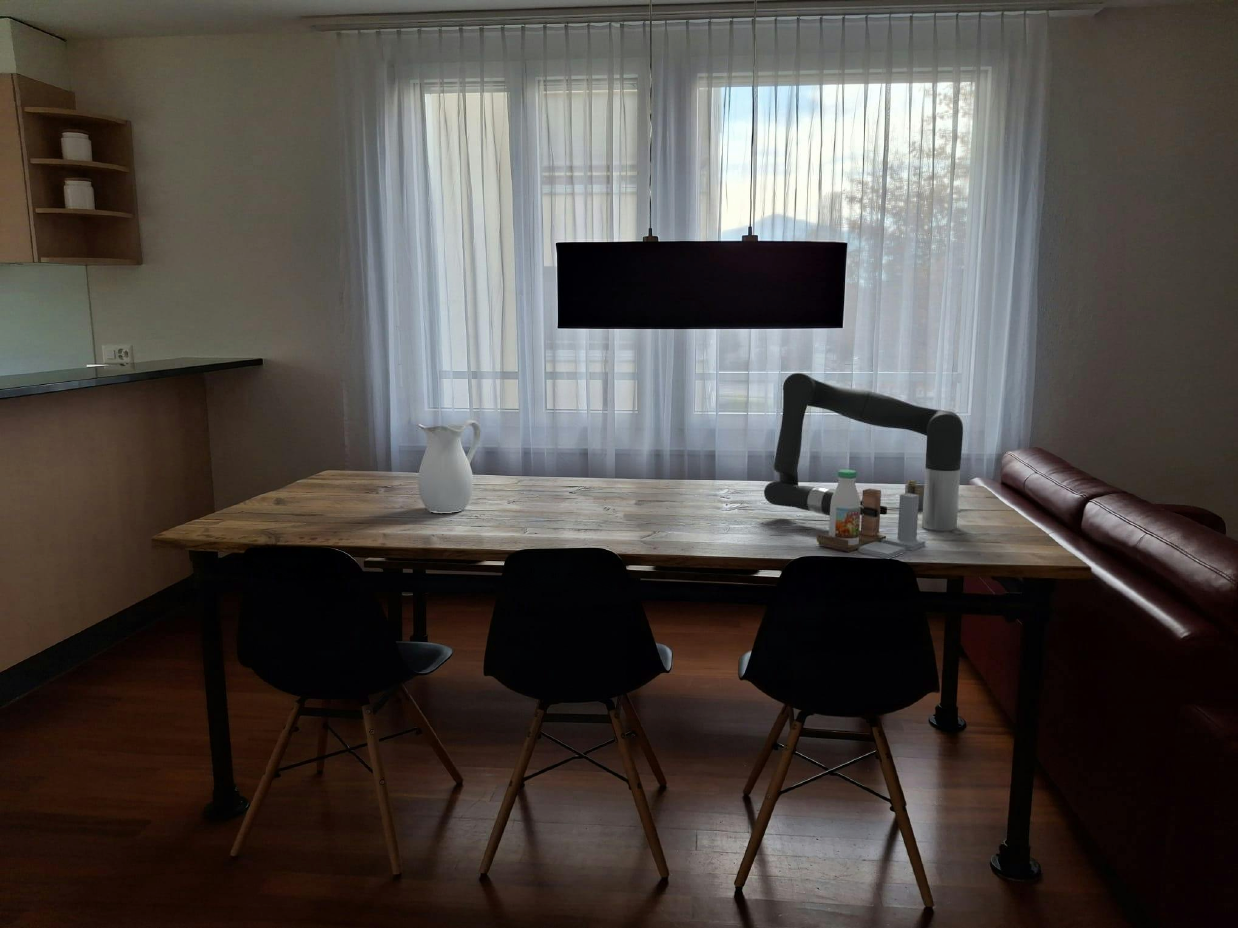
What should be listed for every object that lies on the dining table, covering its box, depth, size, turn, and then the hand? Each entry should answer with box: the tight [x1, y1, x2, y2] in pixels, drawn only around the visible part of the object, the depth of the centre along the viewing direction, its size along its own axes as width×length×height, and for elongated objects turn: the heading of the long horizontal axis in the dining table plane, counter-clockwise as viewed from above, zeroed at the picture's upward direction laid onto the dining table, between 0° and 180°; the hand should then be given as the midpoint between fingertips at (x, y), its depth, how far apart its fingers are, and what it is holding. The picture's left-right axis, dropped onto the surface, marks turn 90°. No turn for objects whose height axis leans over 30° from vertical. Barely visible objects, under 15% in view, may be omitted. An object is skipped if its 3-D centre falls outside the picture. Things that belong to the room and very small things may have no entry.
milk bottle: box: [828, 469, 861, 545], centre depth 220 cm, size 8×8×20 cm
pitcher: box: [417, 419, 482, 512], centre depth 264 cm, size 24×17×28 cm
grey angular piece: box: [858, 492, 926, 559], centre depth 218 cm, size 18×8×13 cm, turn 132°
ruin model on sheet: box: [904, 479, 924, 509], centre depth 265 cm, size 11×3×10 cm, turn 86°
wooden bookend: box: [816, 487, 887, 552], centre depth 223 cm, size 20×9×13 cm, turn 132°
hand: (881, 511), depth 226 cm, fingers open, 3 cm apart
